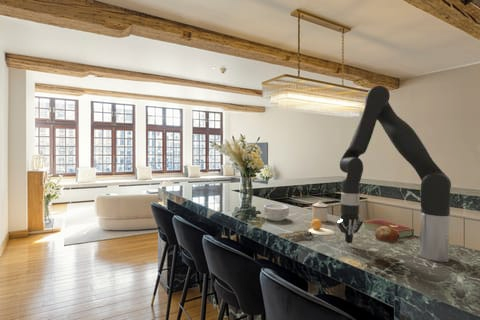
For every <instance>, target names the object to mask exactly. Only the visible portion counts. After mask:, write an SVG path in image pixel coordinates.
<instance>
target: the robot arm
mask: <svg viewBox="0 0 480 320" xmlns="http://www.w3.org/2000/svg"><path fill="white" fill-rule="evenodd" d="M389 101H390V91H389V89H388V88H387V87H385V86H383V85H376V86H373V87H372V88H370V89H369V90H368V92H367V93H366V97H365V105H364V108H363V113H362V115H361V118H360V120H359V122H358V125H357V127H356V129H355V132H354V134H353V136H352V139H351V140H350V144H349V146H348V147H347V149H346V151H345V152H344V154H342V157H341V158H340V161H339V168H340V170H341V172H343V173H345V174H346V177H345V178H344V179H343V180H342V182H341V194H340V195H341V196H340V214H341V215H340V220H338V221H335V224H336V226H337V228H338V229H339V231H341V233H343V234H345V238H344V239H345V240H344V241H345V242H346V243H347V244H352V243H353V241H354V234H357V233H358V231H359V230H360V228H361V227H362V225H364V222H363V221H364V220H360V217H359V214H360V182H361V181H362V176H363V172H364V163H363V161H362V160H361V158H359V157H360V156H361V155H365V153H366V152H367V149H368V147H369V145H370V141H371V139H372V136H373V133H374V130H375V127H376V123H377V121H378V122H379V123H380V125H381V127H382V128H383V130H384V132H385V133H386V135H387V137H388V138H389V140H390V142H391V143H392V145H393V147H394V148H395V149H396V150H397V152H398V153H399V154H400V155H401V156H402V158H403V159H404V160H406V161H407V162H408V164H410V165H411V167H413V169H414V171H416V174H417V175H418V177H419V179H420V180H421V184H420V232H419V234H420V236H419V256H420V257H421V258H424V259H426V260H430V261H433V262H445V263H449V255H450V254H449V251H450V217H451V206H450V202H451V199H450V198H451V188H452V182H451V179H450V178H449V177H448V176H447V175H446V174H445V172H444V171H443V170H442V169H441V168H440V167H439V166H438V165H437V164H436V163H435V161H434V160H433V159H432V157H431V155H430V153H429V152H428V150H427V148H426V147H425V145H424V143H423V142H422V140H421V138H420V137H419V136H418V134H417V133H416V131H415V129H413V128H412V126H411V125H409V124H408V123H407V122H406V121H405V120H403V119H402V118H400V117H399V116H398V115H397V113H396V112H395V111H394V109H393V108H392V106H391V104H390V102H389Z"/></svg>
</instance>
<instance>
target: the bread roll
mask: <svg viewBox="0 0 480 320" xmlns="http://www.w3.org/2000/svg"><path fill="white" fill-rule="evenodd" d="M374 236H375V239H376V240H378V241H382V242H387V243H388V242H389V243H397V242H398V241H400V239H401V237H399V236H400V235H399V233H398V232H397V231H396V230H394V229H393V228H391V227H388V226H382V227H380V228H378V229H377V230H376V231H375V233H374Z"/></svg>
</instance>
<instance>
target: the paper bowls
mask: <svg viewBox="0 0 480 320" xmlns="http://www.w3.org/2000/svg"><path fill="white" fill-rule="evenodd" d="M289 213H290V207H289V206H288V205H284V204H278V203H269V204H264V205H263V215H265V216H266V218H267V219H268V220H270V221H274V222H275V221H276V222H279V221H280V222H281V221H284V220H285V218H286V217H288V216H289Z"/></svg>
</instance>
